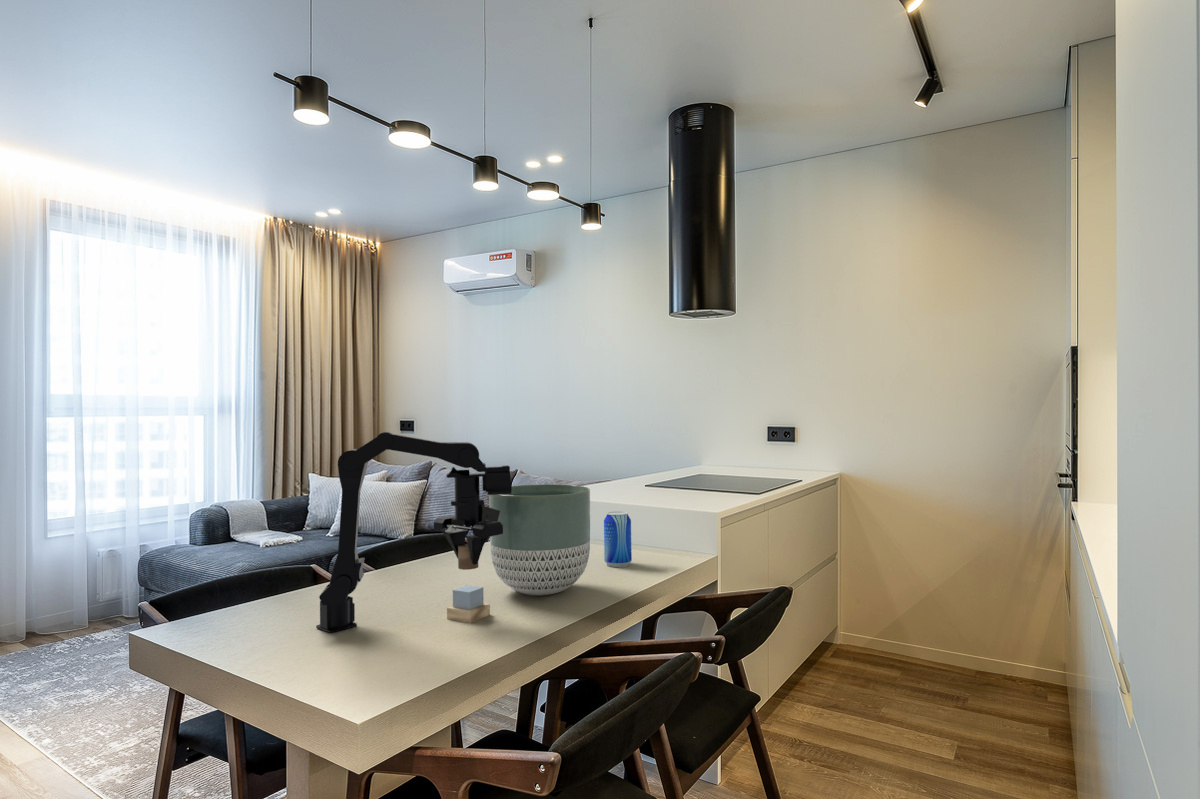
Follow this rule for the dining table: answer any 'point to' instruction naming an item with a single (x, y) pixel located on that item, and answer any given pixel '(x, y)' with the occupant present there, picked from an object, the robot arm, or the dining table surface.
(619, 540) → the beer can
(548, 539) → the planter
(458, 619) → the base block
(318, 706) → the dining table surface
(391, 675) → the dining table surface
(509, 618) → the dining table surface
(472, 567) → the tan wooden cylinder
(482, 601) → the top block
